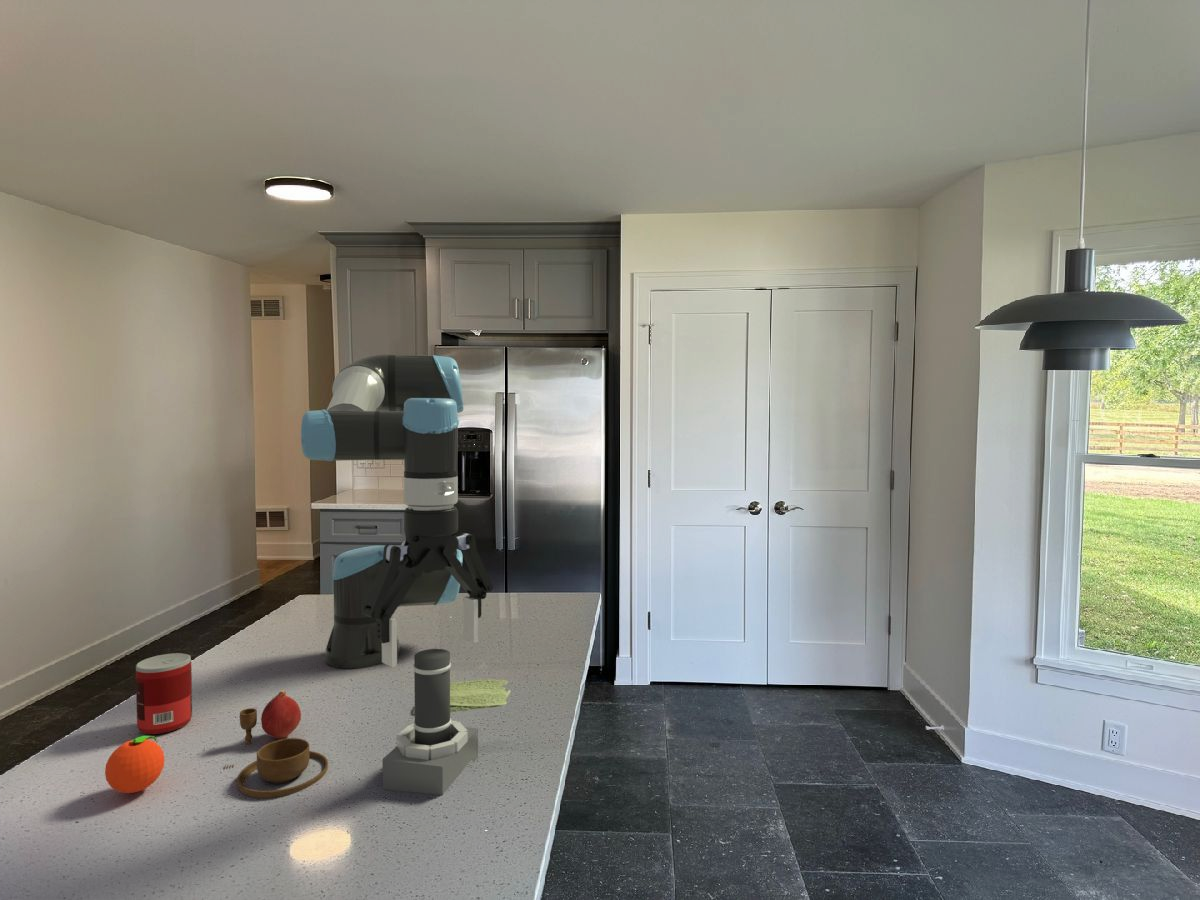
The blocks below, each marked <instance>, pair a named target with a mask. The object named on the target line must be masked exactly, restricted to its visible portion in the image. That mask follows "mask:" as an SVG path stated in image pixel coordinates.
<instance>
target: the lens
mask: <svg viewBox="0 0 1200 900" xmlns="http://www.w3.org/2000/svg"><path fill="white" fill-rule="evenodd" d="M413 660H414V661H413V662H414V663H413V672H414V675H413V676H414V707H415V715H414V722H413V724H414V728H415V744H421V745H429V746H431V745H435V744H439V743H443V742H447V741H450V725H451V720H452V719H451V712H450V682H451V668H452V666H451V665H452V664H451V651H449V650H448V649H443V648H429V649H424V650H420V651H417V652H416V653H415V654H414V659H413Z"/></svg>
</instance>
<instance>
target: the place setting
mask: <svg viewBox="0 0 1200 900" xmlns="http://www.w3.org/2000/svg"><path fill="white" fill-rule="evenodd" d="M257 722H258V710H257V708H253V707H252V708H245V709H243V710H241V711H240V712H239V725H240V728H241V729H242V730H245V737H244V740H245V741H246V743H245V744H244V745H245V746H250V745H253V742H252V740H253V735H252V731H253V730H252V729H254V728H255V727H256V725H257ZM310 758H313V759H317V760H319V761H321V762H322V763H323V764H324V768H323V769H322V770H321V772H319V773H318V774H317V775H316V776H314V777H313V778H311V779H309V780H307V781H305V782H302V783H300V784H297V785H295V786H291V787H287V788H282V789H275V790H257V789H251V788H248V787H247V786H244V785H243V783H244V784H245V782H244V781H246V780H247V779H248V778H249V776H250V775H252V774H253V773H254V772H255V770H256V771H257V774H258V775H259V777H260V778H262V779H263V780H265V781H268V782H270V783H271V784H283V783H287V782H291V781H292V780H294V779H296V778H297V777H299V776H300V775H301V774H303V772H305V771H306V769H307V767H308V766H309V763H310ZM231 766H232V767H231ZM234 766H235V764H234V763H233V764H230V766H229V764H227V765H226V764H225V765H224V767H223V771H224V770H225V769H226V770H229V769H231V768H232V769H234ZM328 768H329V762H328V759H327V757H326V756H325V755H324V754H322V753H320V752H316V751H312V750H310V743H309V742H308V741H307V740H306V739H303V738H297V737H292V738H290V737H289V738H287V737H286V738H285V739H278V740H274V741H270V742H269V743H266V744H265V745H263V746H261V748H259V749H258V750H257V752H256V760H255V761H253V762H251V763H250V764H248V765H246V766H245V767H244V768H243V769H242V770H241V771H240V772H239V773H238V775H237V778H236V781H237V786H238V787H237V788H238V789H239V790H240V792H241V793H242V794H244V795H245V796H247V797H250V798H255V799H273V798H274V799H275V798H279V797H285V796H288V795H292V794H295V793H298V792H301V791H303V790H305V789H307V788H309V787H312V786H313V785H314V784H316V783H317V782H319V781H320V780H321V779H322V778H323V777H324V776H325V775H326V773H327V771H328ZM252 772H253V773H252ZM251 773H252V774H251ZM245 779H246V780H245Z"/></svg>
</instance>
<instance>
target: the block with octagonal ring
mask: <svg viewBox="0 0 1200 900" xmlns="http://www.w3.org/2000/svg"><path fill="white" fill-rule="evenodd" d="M477 758H478V759H479V728H478V727H469V726H464V724H462V723H461V721H457V720H453V719H451V725H450V741H447V742H443V743H439V744H435V745H431V746H429V745H421V744H415V728H414V723H411V724H409V725H407V726H406V727H405V728H404V729H402V731H400V732H399V733H398V734H397V735H396V746H395V747H394V748H393V749H392V750H391V751H390V752H389V753H387V754H386V755H385V756H384V757H383V758H382V790H391V791H392V790H393V791H402V792H409V793H410V792H412V793H419V794H420V793H421V794H429V795H438V796H443V795H444V794H445V793H446V792H447V791H448V789H449V788H450V787H451V785H453V783H454V782H455V781H456V780H457V779H458V777H459V776H460V775H461V773H462V772H463V771H464V770H465V769H466V768H467V766H468V765H469V764H470V763H471V761H472V762H473V763H474V762H475V760H476V759H477Z"/></svg>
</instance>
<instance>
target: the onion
mask: <svg viewBox="0 0 1200 900" xmlns="http://www.w3.org/2000/svg"><path fill="white" fill-rule="evenodd" d="M286 693H287V692H286V690H280V691H279V692H278V694H276V696H274V697H273V698H272V699H271V700H270V701H269V702H268V703H267V704H266V705H265V707H264V709H263V710H262V713H261V718H260V722H261V727H262V730H263V731H264V733H266V734H267V736H268V735H269V736H270V737H273V738H274V739H278V740H281V739H287V737H289V735H291V734H292V733H293V732H294V730H296V728H297V727H298V726H299V724H300V721H301V720H302V719H301V718H302V717H301V716H302V712H301V709H300V706H299V704H298V702H297V701H296V700H295V699H293V698H292V697H290V696H288V695H287V694H286Z"/></svg>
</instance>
